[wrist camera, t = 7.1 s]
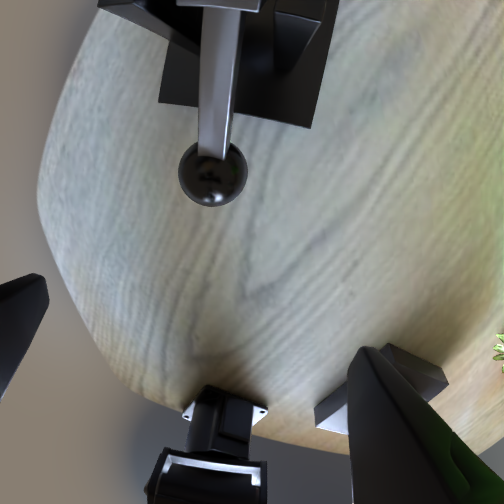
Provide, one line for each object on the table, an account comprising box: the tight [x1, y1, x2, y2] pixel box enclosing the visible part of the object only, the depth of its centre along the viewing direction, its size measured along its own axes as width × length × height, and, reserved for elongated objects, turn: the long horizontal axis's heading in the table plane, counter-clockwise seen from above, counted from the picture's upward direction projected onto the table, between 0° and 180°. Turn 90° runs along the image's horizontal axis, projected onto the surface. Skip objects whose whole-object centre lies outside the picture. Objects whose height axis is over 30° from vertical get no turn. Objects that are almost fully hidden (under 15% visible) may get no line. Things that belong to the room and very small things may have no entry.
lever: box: [176, 0, 267, 207], centre depth 9 cm, size 12×3×3 cm
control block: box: [314, 343, 449, 435], centre depth 23 cm, size 10×8×4 cm
